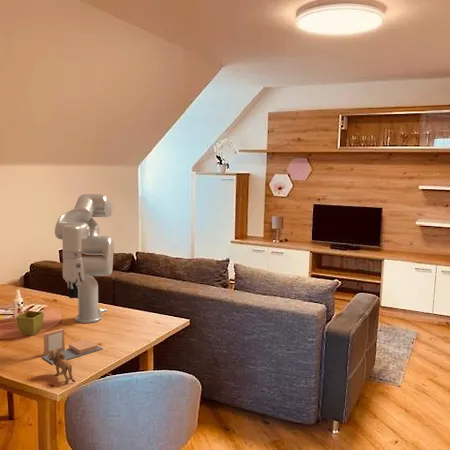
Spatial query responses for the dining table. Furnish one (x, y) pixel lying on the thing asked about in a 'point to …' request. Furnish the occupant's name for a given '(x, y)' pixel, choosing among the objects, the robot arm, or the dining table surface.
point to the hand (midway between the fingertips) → (73, 297)
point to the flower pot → (30, 322)
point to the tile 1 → (54, 341)
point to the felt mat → (71, 354)
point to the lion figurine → (61, 364)
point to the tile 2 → (83, 346)
